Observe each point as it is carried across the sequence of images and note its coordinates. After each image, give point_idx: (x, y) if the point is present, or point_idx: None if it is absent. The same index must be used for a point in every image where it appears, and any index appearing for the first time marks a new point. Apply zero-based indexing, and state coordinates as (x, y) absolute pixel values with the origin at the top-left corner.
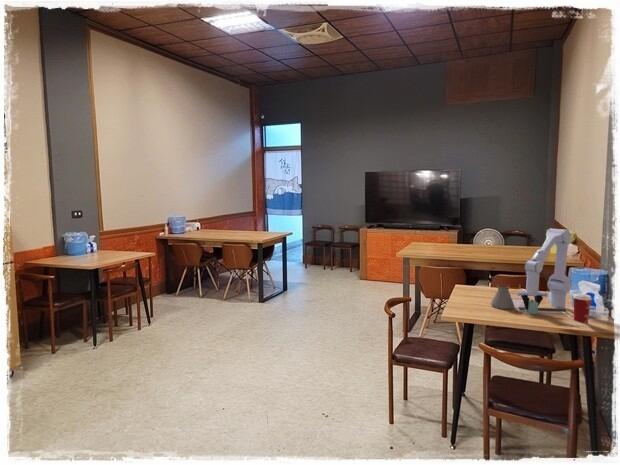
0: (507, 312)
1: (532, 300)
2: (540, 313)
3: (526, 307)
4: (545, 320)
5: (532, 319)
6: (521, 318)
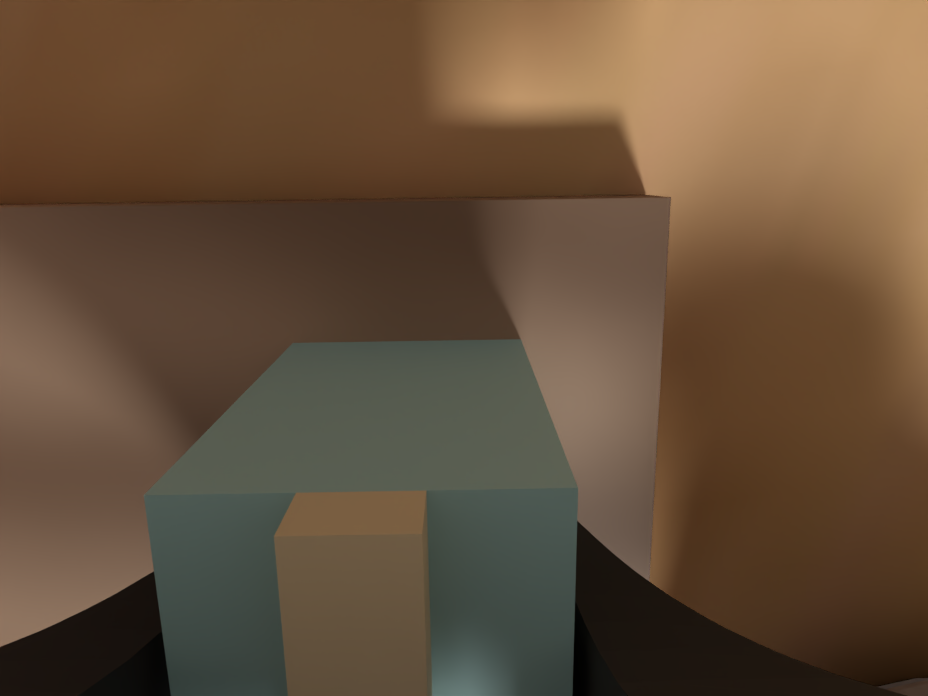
0: (898, 608)
1: (401, 671)
2: (188, 436)
3: (587, 531)
4: (183, 57)
5: (507, 100)
6: (769, 151)
